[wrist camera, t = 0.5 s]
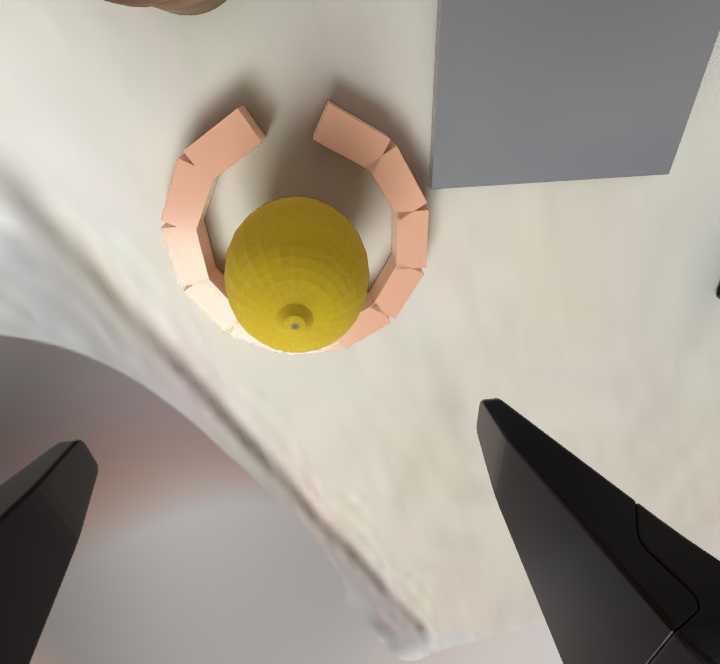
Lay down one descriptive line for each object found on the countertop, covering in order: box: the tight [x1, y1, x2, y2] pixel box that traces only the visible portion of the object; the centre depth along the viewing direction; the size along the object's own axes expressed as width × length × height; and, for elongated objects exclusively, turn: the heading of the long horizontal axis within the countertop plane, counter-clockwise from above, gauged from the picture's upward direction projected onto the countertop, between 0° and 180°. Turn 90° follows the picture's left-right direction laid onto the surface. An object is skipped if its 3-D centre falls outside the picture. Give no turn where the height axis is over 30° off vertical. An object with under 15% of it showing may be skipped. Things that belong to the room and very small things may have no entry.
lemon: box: [224, 196, 369, 353], centre depth 16 cm, size 6×6×8 cm
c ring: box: [161, 101, 429, 355], centre depth 19 cm, size 11×11×2 cm
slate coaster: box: [429, 0, 720, 189], centre depth 16 cm, size 11×11×1 cm
